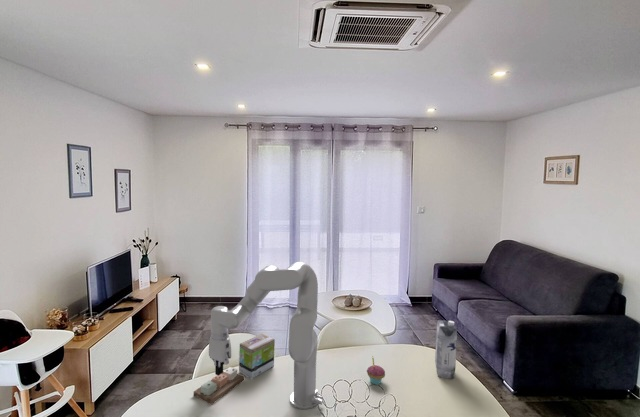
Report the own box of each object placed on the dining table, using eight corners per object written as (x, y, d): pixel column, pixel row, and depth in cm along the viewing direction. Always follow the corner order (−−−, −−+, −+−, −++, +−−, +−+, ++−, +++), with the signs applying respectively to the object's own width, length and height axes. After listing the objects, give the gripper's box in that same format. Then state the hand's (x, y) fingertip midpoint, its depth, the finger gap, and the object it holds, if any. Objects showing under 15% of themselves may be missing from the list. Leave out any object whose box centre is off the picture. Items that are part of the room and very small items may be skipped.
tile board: (244, 380, 157) (244, 376, 157) (211, 404, 140) (211, 399, 140) (227, 373, 163) (227, 369, 162) (193, 395, 145) (193, 391, 145)
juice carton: (436, 378, 162) (438, 324, 160) (434, 366, 172) (436, 315, 170) (455, 380, 160) (458, 326, 158) (452, 369, 170) (455, 317, 168)
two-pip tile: (237, 375, 158) (237, 369, 157) (230, 380, 154) (230, 373, 153) (230, 372, 160) (230, 366, 160) (223, 377, 156) (223, 371, 156)
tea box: (252, 379, 158) (252, 349, 157) (238, 372, 164) (238, 343, 163) (274, 366, 170) (275, 338, 169) (261, 359, 176) (261, 332, 175)
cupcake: (364, 383, 157) (364, 358, 156) (370, 374, 164) (370, 350, 163) (381, 388, 153) (382, 363, 152) (387, 379, 160) (388, 355, 159)
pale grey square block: (216, 390, 146) (216, 383, 146) (208, 395, 142) (208, 388, 142) (209, 386, 148) (209, 380, 148) (200, 392, 144) (200, 385, 144)
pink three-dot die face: (227, 382, 152) (227, 376, 152) (219, 387, 148) (219, 381, 148) (220, 379, 154) (219, 373, 154) (212, 384, 150) (212, 378, 150)
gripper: (237, 335, 149) (237, 374, 150) (214, 327, 156) (213, 365, 158) (225, 342, 142) (225, 383, 144) (201, 333, 150) (201, 372, 151)
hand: (219, 373), depth 151 cm, fingers closed
